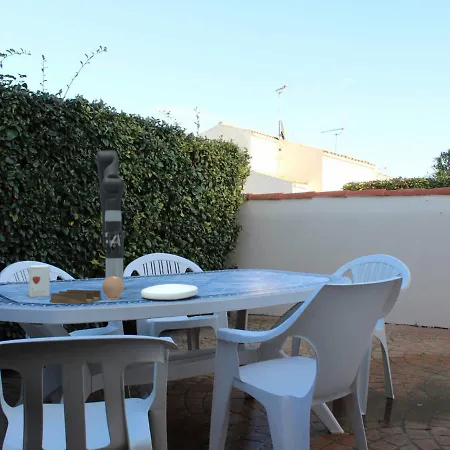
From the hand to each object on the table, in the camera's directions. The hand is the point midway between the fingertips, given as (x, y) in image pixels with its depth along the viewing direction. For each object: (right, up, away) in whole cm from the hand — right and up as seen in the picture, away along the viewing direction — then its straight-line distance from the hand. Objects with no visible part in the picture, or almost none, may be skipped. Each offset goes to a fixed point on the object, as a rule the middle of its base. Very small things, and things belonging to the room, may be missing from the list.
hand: (113, 254), depth 228 cm
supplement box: (-39, -21, +11) cm, 46 cm away
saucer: (0, -21, 0) cm, 21 cm away
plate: (+27, -21, +3) cm, 34 cm away
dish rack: (-15, -21, -8) cm, 27 cm away
